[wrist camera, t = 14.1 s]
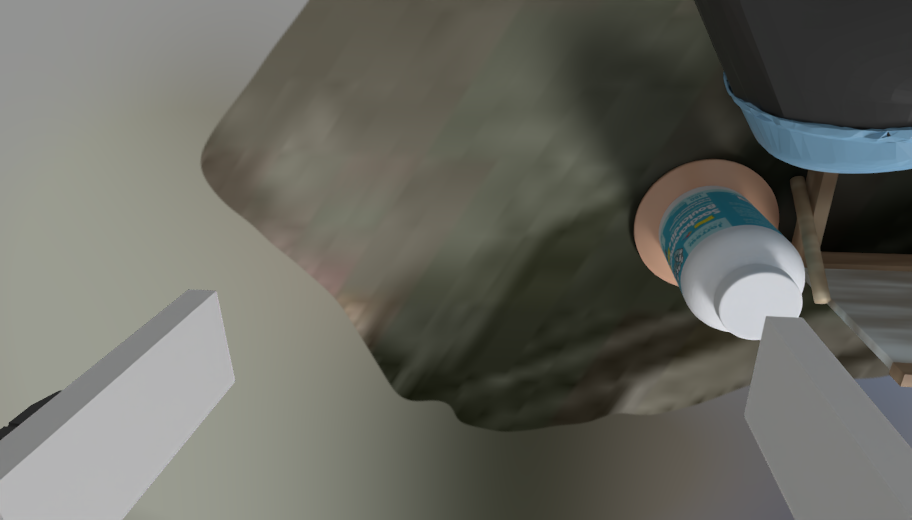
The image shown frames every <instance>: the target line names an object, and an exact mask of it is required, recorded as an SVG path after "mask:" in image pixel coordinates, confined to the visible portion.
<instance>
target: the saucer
mask: <svg viewBox="0 0 912 520" xmlns="http://www.w3.org/2000/svg"><path fill="white" fill-rule="evenodd" d="M703 186H722V187H726V188H730V189H732V190H735V191H737V192H738V193H740V194H741V195H743V196H744V197H745V198H746V199H747V200H748V201H749V202H751V203H752V205H753V206H754V207H756V209H757V210H758V211H759V212H760V213H761V214H762V215H763V216H764V217H765V218H766V219H767V220H768V221H769V222H770V223H771V224H772V225H773V226H774V227H775V228H776V229H777V230H778V225H779V209H778V204H777V201H776V198H775V195H774V193H773V191H772V190H771V188H770V187H769V185H768V184H767V183H766V181H765V180H764V179H763V178H762V177H761V176H760V175H758V174H757V173H756V172H754V171H753V170H751V169H750V168H748V167H746V166H744V165H742V164H740V163H737V162H734V161H730V160H725V159H701V160H696V161H692V162H688V163H685V164H683V165H680V166H678V167H676V168H674V169H672V170H670V171H669V172H667V173H666V174H664V175H663V176H662V177H660V178H659V179H658V180H657V181H656V182H655V183H654V184H653V185H652V186H651V187H650V188H649V189H648V191H647V192H646V193H645V195H644V196H643V198H642V200H641V202H640V204H639V206H638V209H637V212H636V215H635V220H634V239H635V243H636V247H637V250H638V252H639V254H640V257H641V258H642V260H643V261H644V263H645V264H646V266H647V267H648V268H649V269H650V270H651V271H652V272H653V273H654V274H655V275H657V276H658V277H660V278H661V279H663V280H665V281H667V282H669V283H671V284H674V285H677V286H678V284H677V281H676V279H675V277H674V275H673V273H672V271H671V269H670V267H669V265H668V262H667V260H666V258H665V256H664V253H663V251H662V249H661V246H660V242H659V226H660V222H661V219H662V217H663V214H664V213H665V211H666V209H667V208H668V207H669V205H670V204H671V203H672V202H673V201H674V200H675V199H676V198H678V197H679V196H681V195H682V194H684V193H686V192H687V191H690V190H692V189H695V188H698V187H703Z"/></svg>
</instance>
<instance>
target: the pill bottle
mask: <svg viewBox="0 0 912 520" xmlns="http://www.w3.org/2000/svg"><path fill="white" fill-rule="evenodd" d="M659 242H660V246H661V249H662V251H663V253H664V256H665V258H666V260H667V262H668V265H669V267H670V269H671V271H672V273H673V275H674V277H675V279H676V281H677V284H678V286H679V288H680V290H681V292H682V294H683V296H684V299H685V301H686V303H687V305H688V307H689V308H690V310H691V311H692V312H693V313H694V315H695V316H696V317H697V318H699V319H700V320H701V321H703V322H704V323H705V324H707V325H709V326H711V327H713V328H716V329H719V330H722V331H726V332H731V333H732V334H734V335H736V336H738V337H740V338H743V339H749V340H761V336H762V332H763V327H764V323H765V318H766V316H775V317H797V318H798V317H799V315H800V312H801V309H802V291H803V288H804V283H805V269H804V264H803V261H802V258H801V256H800V254H799V253H798V251H797V250H796V248H795V247H794V246H793V245H792V244H791V243H790V242H789V241H788V240H787V239H786V238H785V237H784V236H783V235H782V234H781V233H780V232H779V231H778V230H777V229H776V228H775V227H774V226H773V225H772V224H771V223H770V222H769V221H768V220H767V219H766V218H765V217H764V216H763V215H762V214H761V213H760V212H759V211H758V210H757V209H756V207H754V206H753V205H752V203H751V202H749V201H748V200H747V199H746V198H745V197H744V196H743V195H741V194H740V193H738V192H737V191H735V190H732V189H730V188H726V187H722V186H703V187H698V188H695V189H692V190H690V191H687V192H686V193H684V194H682V195H681V196H679V197H678V198H676V199H675V200H674V201H673V202H672V203H671V204H670V205H669V207H668V208H667V209H666V211H665V213H664V214H663V217H662V219H661V222H660V226H659Z"/></svg>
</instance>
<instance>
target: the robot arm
mask: <svg viewBox="0 0 912 520" xmlns="http://www.w3.org/2000/svg"><path fill="white" fill-rule="evenodd" d="M694 1H695V4H696V6H697V8H698V11H699V13H700V15H701V18H702V20H703V22H704V25H705V27H706V30H707V32H708V34H709V37H710V39H711V41H712V44H713V46H714V48H715V51H716V53H717V55H718V58H719V60H720V63H721V65H722V67H723V70H724V73H723V78H724V84H725V87H726V89H727V92H728V94H729V95H730V96H732V98H733V100H734V102H735V103H736V104H737V105H738V106H739V107H740V108H741V110H742V112H743V114H744V116H745V118H746V120H747V122H748V124H749V126H750V128H751V130H752V132H753V134H754V136H755V138H756V140H757V141H758V142H759V143H760V144H761V145H762V146H763V147H764V148H765V149H766V150H767V151H768V152H769V153H770V154H772V155H773V156H774V157H776V158H778V159H780V160H782V161H784V162H786V163H789V164H791V165H794V166H797V167H800V168H804V169H809V170H814V171H820V172H829V173H847V174H860V173H880V172H891V171H900V170H907V169H912V0H694ZM234 382H235V378H234V373H233V368H232V364H231V358H230V354H229V349H228V344H227V339H226V334H225V329H224V325H223V320H222V315H221V310H220V306H219V301H218V296H217V291H211V290H190V289H188V290H187V291H186V292H185V293H183V294H182V295H181V296H180V297H178V298H177V299H176V300H175V301H173V302H172V303H171V304H170V305H169V306H167V307H166V308H165V309H163V310H162V311H161V312H160V313H158V314H157V315H156V316H155V317H153V318H152V319H151V320H150V321H149V322H147V323H146V324H145V325H143V326H142V327H141V328H140V329H139V330H137V331H136V332H135V333H134V334H132V335H131V336H130V337H129V338H127V339H126V340H125V341H124V342H122V343H121V344H120V345H119V346H117V347H116V348H115V349H114V350H113V351H111V352H110V353H109V354H107V355H106V356H105V357H104V358H102V359H101V360H100V361H99V362H97V363H96V364H95V365H94V366H93V367H91V368H90V369H89V370H87V371H86V372H85V373H84V374H83V375H81V376H80V377H79V378H78V379H76V380H75V381H74V382H72V383H71V384H70V385H69V386H67V387H66V388H65V389H64V390H62V391H58V392H56V393H54V394H52V395H50V396H48V397H46V398H44V399H43V400H40V401H39V402H37V403H35V404H33V405H31V406H30V407H28V408H27V409H26V410H25V411H24V412H22V413H21V414H20V415H18V416H17V417H16V418H14V419H13V420H12V421H11V422H9V425H8V427H3V428H2V429H0V520H122V519H123V518H124V517H125V516H126V514H127V513H128V512H129V511H130V509H131V508H132V507H133V506H134V505H135V503H136V502H137V501H138V500H139V498H140V497H141V496H142V495H143V494H144V492H145V491H146V490H147V489H148V487H149V486H150V485H151V484H152V482H153V481H154V480H155V479H156V477H157V476H158V475H159V474H160V473H161V471H162V470H163V469H164V468H165V466H166V465H167V464H168V463H169V462H170V461H171V459H172V458H173V457H174V456H175V454H176V453H177V452H178V451H179V449H180V448H181V447H182V446H183V444H184V443H185V442H186V441H187V439H188V438H189V437H190V436H191V435H192V434H193V432H194V431H195V430H196V429H197V427H198V426H199V425H200V424H201V422H202V421H203V420H204V419H205V418H206V416H207V415H208V414H209V413H210V412H211V410H212V409H213V408H214V407H215V405H216V404H217V403H218V402H219V401H220V399H221V398H222V397H223V395H224V394H225V393H226V392H227V391H228V389H229V388H230V387H231V386H232V385H233V383H234ZM744 417H745V419H746V421H747V423H748V425H749V427H750V429H751V431H752V433H753V435H754V437H755V439H756V441H757V443H758V446H759V448H760V450H761V452H762V454H763V456H764V458H765V460H766V462H767V464H768V466H769V468H770V470H771V472H772V474H773V476H774V478H775V480H776V482H777V484H778V486H779V488H780V490H781V492H782V495H783V497H784V499H785V501H786V503H787V504H788V507H789V508H790V511H791V513H792V515H793V517H794V519H795V520H912V449H911V447H910V446H909V445H908V444H907V443H906V441H905V440H904V439H903V438H902V437H901V435H900V434H899V433H898V432H897V431H896V429H895V428H894V427H893V426H892V425H891V423H890V422H889V421H888V420H887V418H886V417H885V416H884V415H883V414H882V413H881V411H880V410H879V409H878V408H877V406H875V404H874V403H873V402H872V400H871V399H870V398H869V397H868V396H867V395H866V393H865V392H864V391H863V390H862V389H861V387H860V386H859V385H858V384H857V382H856V381H855V380H854V379H853V378H852V376H851V375H850V374H849V373H848V372H847V370H846V369H845V368H844V367H843V366H842V364H841V363H840V362H839V361H838V360H837V358H836V357H835V356H834V355H833V354H832V352H831V351H830V350H829V349H828V348H827V346H826V345H825V344H824V343H823V342H822V340H821V339H820V338H819V337H818V336H817V334H816V333H815V332H814V331H813V330H812V328H811V327H810V326H809V325H808V324H807V322H806V321H805V320H804V319H803V318H797V317H775V316H766V318H765V323H764V327H763V332H762V336H761V341H760V345H759V350H758V354H757V359H756V363H755V368H754V372H753V377H752V381H751V386H750V390H749V395H748V400H747V404H746V409H745V413H744Z"/></svg>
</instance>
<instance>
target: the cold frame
mask: <svg viewBox="0 0 912 520" xmlns="http://www.w3.org/2000/svg"><path fill="white" fill-rule="evenodd" d="M838 174H839V173H829V172H820V171H814V170H809V169H808V173H807V177H806V182H805V178H804V177H803V176H795V177H793V178H791V179H790V185H791V190H792V195H793V200H794V205H795V210H796V214H797V221H796V226H795V230H794V234H793V239H792V243H791V244H792V245H793V246H794V247H795V248H796V250H797V251H798V253H799V254H800V256H801V258H802V261H803V264H804V269H805V281H806V282H807V283H808V284H809V285H810V286H811V288H812V293H813V298H814V302H815V303H816V304H825V303H827V304H828V305H829V306H830V307H831V308H832V309H833V310H834V311H835V312H836V313H837V315H838V316H839V317H840V318H841V319H842V320H843V321H844V322H845V323H846V324H847V325H848V326H849V327H850V328H851V329H852V330H853V331H854V332H855V333H856V334H857V335H858V336H859V338H860V339H861V340H862V341H863V342H864V343H865V344H866V345H867V346H868V347H869V348H870V349H871V350H872V351H873V352H874V353H875V354H876V355H877V356H878V357H879V358H880V360H881V361H882V362H883V363H884V364H885V365H886V366H887V367H888V368H889V369H890V372H889V375H890V376H891V377H892V378H893V379H894V380H895V381H896V382H897V383H898V384H899V385H900V386H904V387H912V254H881V253H850V252H821V251H820V246H821V242H822V238H823V234H824V230H825V226H826V222H827V218H828V214H829V210H830V206H831V202H832V198H833V194H834V190H835V186H836V182H837V178H838Z"/></svg>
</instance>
